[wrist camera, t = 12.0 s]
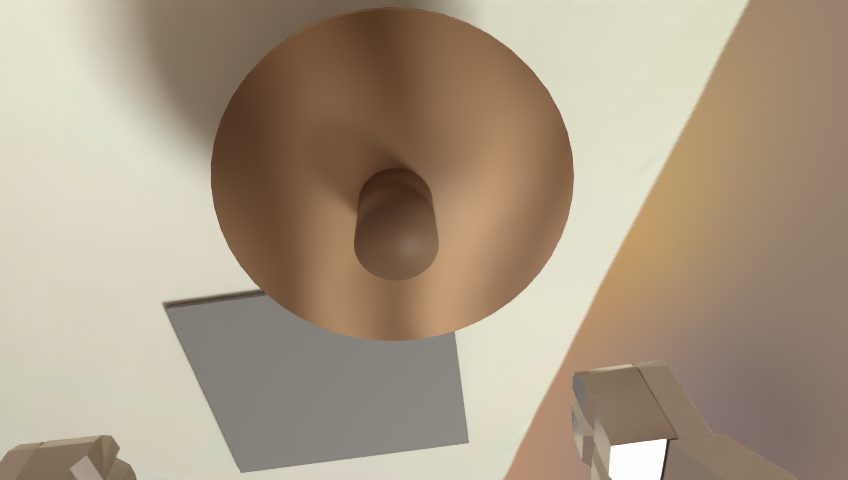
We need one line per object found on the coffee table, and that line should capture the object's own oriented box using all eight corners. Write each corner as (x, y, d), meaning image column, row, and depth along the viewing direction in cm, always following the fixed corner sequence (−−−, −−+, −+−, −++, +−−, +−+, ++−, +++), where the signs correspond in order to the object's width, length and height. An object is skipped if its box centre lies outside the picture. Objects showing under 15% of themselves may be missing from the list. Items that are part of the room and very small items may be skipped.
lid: (272, 350, 31) (254, 416, 27) (159, 41, 22) (106, 66, 18) (569, 308, 31) (597, 368, 26) (568, -23, 22) (609, -12, 18)
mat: (242, 468, 48) (240, 472, 47) (167, 305, 39) (165, 309, 38) (468, 439, 47) (468, 443, 47) (446, 267, 38) (446, 270, 38)
